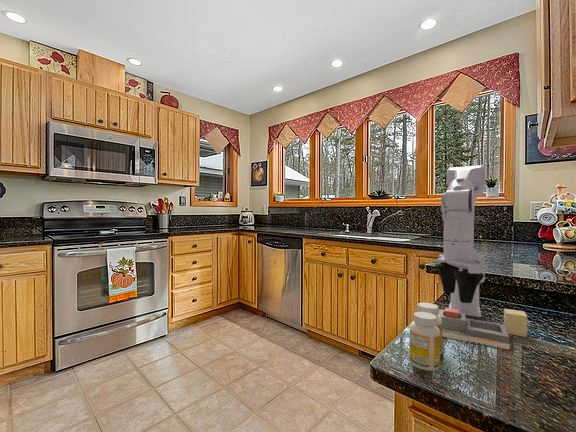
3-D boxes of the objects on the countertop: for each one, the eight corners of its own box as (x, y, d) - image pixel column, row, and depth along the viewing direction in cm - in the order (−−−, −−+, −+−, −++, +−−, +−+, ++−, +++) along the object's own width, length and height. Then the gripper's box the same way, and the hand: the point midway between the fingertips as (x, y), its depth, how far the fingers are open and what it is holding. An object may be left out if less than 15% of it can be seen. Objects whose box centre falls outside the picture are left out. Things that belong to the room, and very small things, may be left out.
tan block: (503, 327, 72) (503, 308, 72) (523, 331, 70) (524, 311, 70) (505, 333, 69) (506, 313, 69) (527, 337, 67) (527, 316, 67)
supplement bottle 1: (445, 358, 57) (446, 310, 57) (417, 355, 58) (417, 308, 58) (437, 346, 62) (437, 302, 62) (411, 343, 63) (411, 300, 63)
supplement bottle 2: (416, 371, 52) (417, 320, 52) (404, 357, 57) (405, 310, 57) (446, 372, 52) (446, 320, 52) (431, 357, 57) (431, 310, 57)
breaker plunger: (445, 318, 72) (445, 307, 72) (458, 321, 71) (458, 309, 71) (444, 322, 70) (444, 310, 70) (458, 325, 68) (458, 313, 68)
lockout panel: (436, 321, 76) (437, 306, 76) (503, 333, 69) (503, 317, 69) (433, 334, 68) (434, 318, 68) (509, 350, 60) (509, 331, 60)
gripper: (427, 237, 74) (426, 288, 75) (455, 243, 60) (455, 307, 60) (454, 237, 74) (454, 289, 74) (490, 244, 59) (490, 307, 60)
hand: (457, 297), depth 67 cm, fingers open, 7 cm apart
